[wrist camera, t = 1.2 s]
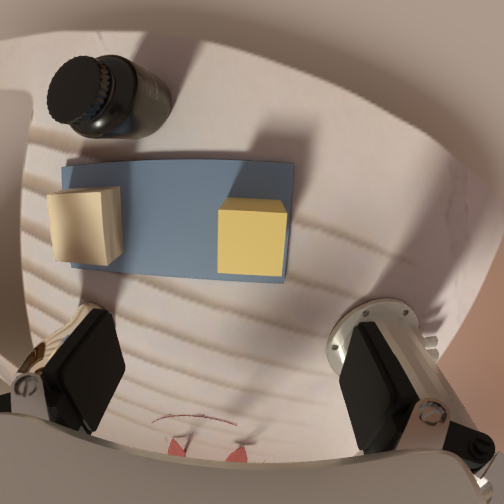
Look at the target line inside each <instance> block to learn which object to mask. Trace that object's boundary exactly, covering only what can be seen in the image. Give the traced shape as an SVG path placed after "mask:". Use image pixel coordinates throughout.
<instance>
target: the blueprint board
mask: <svg viewBox="0 0 504 504" xmlns="http://www.w3.org/2000/svg"><path fill="white" fill-rule="evenodd" d="M61 169H62V190H65V189H71V188H88V187H111V186H120V197H121V217H122V231H123V243H124V252H123V253H122V254H121V255H120V256H119V257H117V258H116V259H115V260H114V261H113V262H111V263H110V264H109V265H108V266H104V265H92V264H82V263H71V268H79V269H88V270H98V271H108V272H119V273H130V274H141V275H153V276H166V277H179V278H193V279H207V280H223V281H240V282H258V283H278V284H284V277H285V267H286V257H287V247H288V236H289V225H290V213H291V201H292V188H293V174H294V164H293V163H280V162H265V161H246V160H214V159H171V160H140V161H121V162H107V163H95V164H84V165H75V166H66V167H61ZM227 197H231V198H253V199H270V200H281V202H282V204H283V206H284V208H285V210H286V212H287V223H286V234H285V246H284V256H283V267H282V276H263V275H244V274H227V273H217V272H218V209H219V208H220V207H221V205H222V204H223V202H224V201H225V199H226V198H227Z"/></svg>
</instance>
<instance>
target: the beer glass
mask: <svg viewBox="0 0 504 504" xmlns="http://www.w3.org/2000/svg"><path fill="white" fill-rule="evenodd" d="M93 308H98V309H103V308H102V307H100V306H99V305H97V304H94V303H90V302H87V303H83V304H81V305H80V306H79V307H78V309H77V310H76V312H75V314H74V316H73V317H72V319H71V320H70V321H69V322H68V323H67V324H66V325H64V326H63V327H61V328H60V329H58V330H57V331H55V332H54V333H52V334H51V335H49V336H48V337H47V338H45V339H44V340H43V341H41V342H40V343H39V344H38V345H37V346H36V347H35V348H34V349H33V350H32V351H31V353H30V354H29V355H28V356H27V358H26V359H25V361H24V362H23V363H22V365H21V366H20V368H19V369H18V370H17V372H16V373H15V374H14V380H15V378H16V377H18V376H19V375H21V374H24V373H29V372H31V373H35V374H38V375H39V376H40V377H41V376H42V375H43V373H42V371H41V370H42V369H43V368H44V366H45V365H46V364H47V362H48V361H49V360H50V359H51V357H52V356H53V355H54V354H55V352H56V351H57V350H58V349H59V347H60V346H61V345H62V344H63V343H64V341H65V340H66V339H67V338H68V337H69V335H70V334H71V333H72V332H73V331H74V329H75V328H76V327H77V326H78V325H79V324H80V323H81V321H82V320H83V319H84V318H85V317H86V316H87V314H88V313H89V312H90V311H91V310H92V309H93Z"/></svg>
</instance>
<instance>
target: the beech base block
mask: <svg viewBox="0 0 504 504" xmlns="http://www.w3.org/2000/svg"><path fill="white" fill-rule="evenodd" d="M47 204H48V215H49V224H50V232H51V239H52V245H53V252H54V257H55V261H61V262H71V263H82V264H92V265H104V266H108V265H109V264H110V263H111V262H113V261H114V260H115V259H116V258H117V257H119V256H120V255H121V254H122V253H123V252H124V243H123V231H122V217H121V197H120V186H111V187H88V188H71V189H65V190H62V191H58V192H55V193H51V194H48V195H47Z"/></svg>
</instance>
